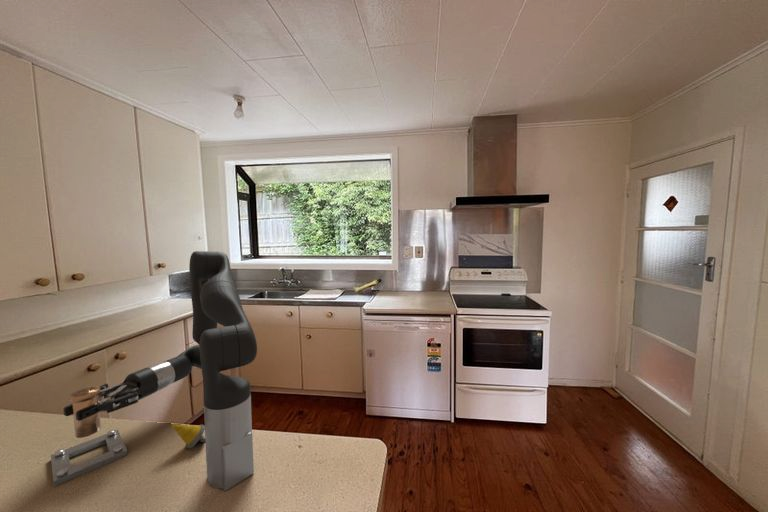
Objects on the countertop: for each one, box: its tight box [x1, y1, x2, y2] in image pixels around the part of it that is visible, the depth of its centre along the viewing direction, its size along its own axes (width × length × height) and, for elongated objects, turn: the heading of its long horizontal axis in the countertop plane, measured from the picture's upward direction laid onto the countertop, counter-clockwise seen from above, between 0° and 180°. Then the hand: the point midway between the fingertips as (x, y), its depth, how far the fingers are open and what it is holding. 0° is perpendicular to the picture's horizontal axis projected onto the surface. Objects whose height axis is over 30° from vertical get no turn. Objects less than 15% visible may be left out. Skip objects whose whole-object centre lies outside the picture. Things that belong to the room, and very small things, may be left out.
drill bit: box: [171, 423, 206, 450], centre depth 75 cm, size 5×5×10 cm
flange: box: [50, 429, 128, 488], centre depth 71 cm, size 12×12×2 cm
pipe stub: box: [69, 385, 102, 439], centre depth 71 cm, size 5×5×10 cm
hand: (71, 414), depth 68 cm, fingers closed on pipe stub, 4 cm apart
